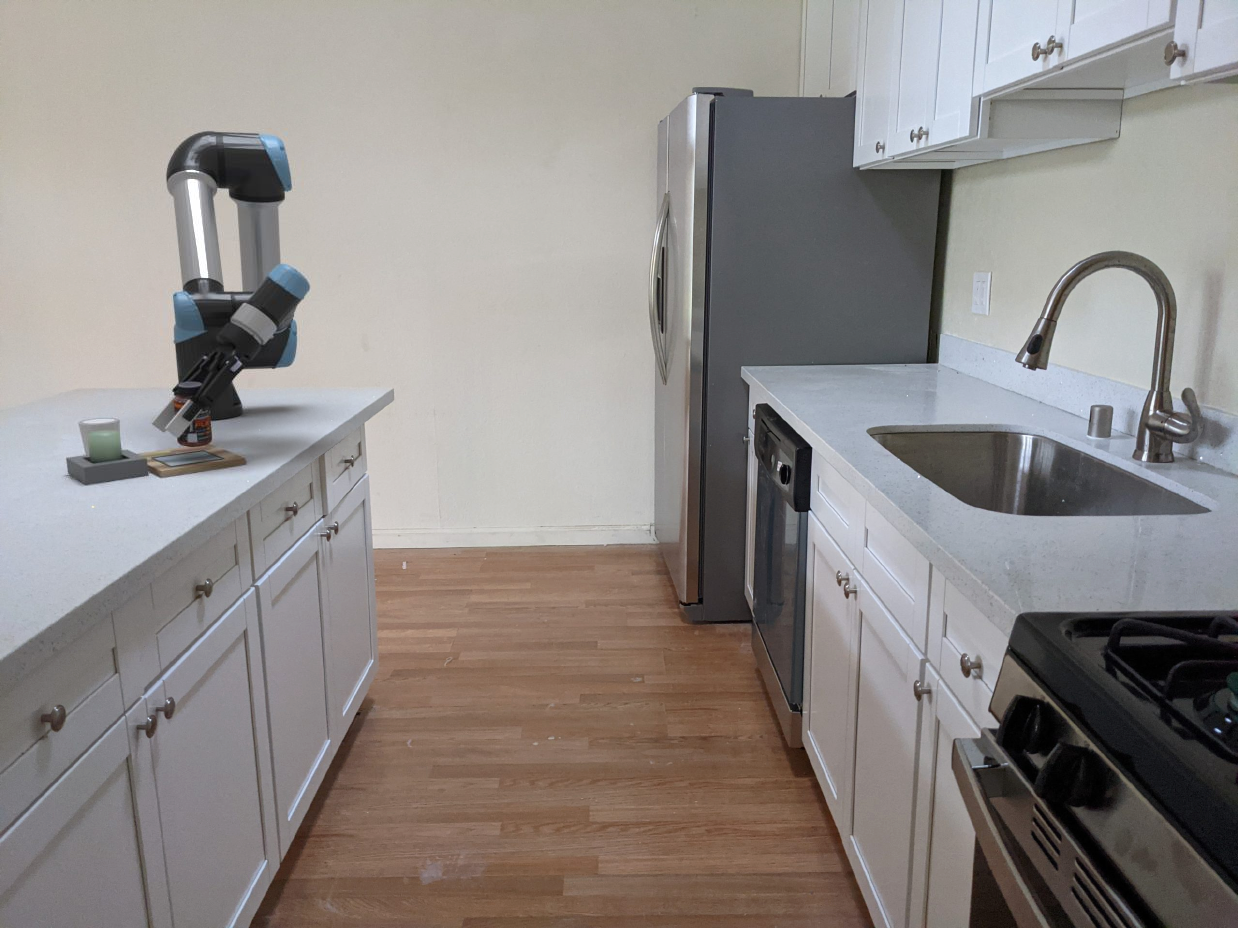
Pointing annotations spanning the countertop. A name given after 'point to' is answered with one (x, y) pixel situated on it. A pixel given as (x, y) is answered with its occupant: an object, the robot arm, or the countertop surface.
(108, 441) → the button
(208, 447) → the board
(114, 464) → the button housing
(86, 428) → the shot glass
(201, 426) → the supplement bottle
